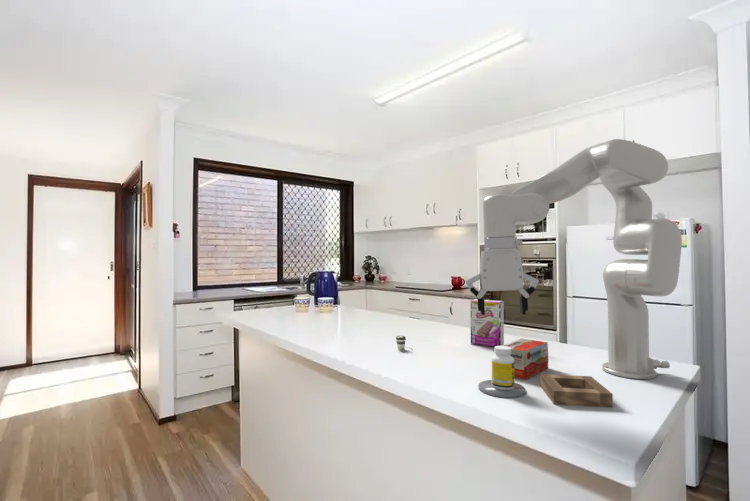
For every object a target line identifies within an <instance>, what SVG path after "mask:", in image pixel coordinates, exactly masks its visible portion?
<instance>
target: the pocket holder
mask: <svg viewBox="0 0 750 501" xmlns="http://www.w3.org/2000/svg"><path fill="white" fill-rule="evenodd" d="M539 387H540V388H541V390H543V392H544V394H546V396H547V397H548V399H549V400H550V401H551V402H552V404H553V405H558V406H559V405H560V406H573V407H574V406H575V407H576V406H577V407H591V408H592V407H593V408H594V407H596V408H610V409H611V408H613V407H614V406H613V404H614V403H613V402H614V401H613V399H614V396H613V393H612V392H611V391H610V390H608V389H607V388H606V387H605V386H604V385H603V384H601V383H600V382H599V381H597V380H596V379H595V378H594V377H592V375H572V374H571V375H570V374H569V375H565V374H549V373H547V374H546V373H545V374H543V373H539Z"/></svg>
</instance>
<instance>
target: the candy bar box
mask: <svg viewBox="0 0 750 501" xmlns="http://www.w3.org/2000/svg"><path fill="white" fill-rule="evenodd" d="M504 306H505V302H504V301H503V300H492V299H491V300H490V299H484V307H485V314H484V315H482V314H481V311H478V298H475V299H474V298H473V299H471V300H470V345H475V346H476V345H477V346H484V347H491V348H492V347H493V348H495V346H502V345H505V332H504V331H505V329H504V328H505V326H504V325H505V321H504V320H505V319H504V318H505V312H504V310H505V309H504V308H505V307H504Z"/></svg>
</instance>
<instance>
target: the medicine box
mask: <svg viewBox="0 0 750 501" xmlns="http://www.w3.org/2000/svg"><path fill="white" fill-rule="evenodd" d="M502 346H508V347H511V354H510V356H512V357H513V358H514V379H515V378H516V379H521V380H525V381H527V380H529V379H530V378H532V377H535V376H536V375H540V374H541V373H542V372H545V371H546V370H548V369H549V344H548V341H540V340H533V339H528V338H519V339H517V340H513V341H511V342H508V343H504V345H502Z"/></svg>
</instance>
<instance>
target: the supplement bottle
mask: <svg viewBox="0 0 750 501" xmlns="http://www.w3.org/2000/svg"><path fill="white" fill-rule="evenodd" d="M510 354H511V347H508V346H495V347H494V355H492V356H491V380H492V386H493V387H494V388H496V389H499V390H512V389H514V384H515V383H516V382H515V377H514V358H513V357H512V356H510ZM514 382H515V383H514Z"/></svg>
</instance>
